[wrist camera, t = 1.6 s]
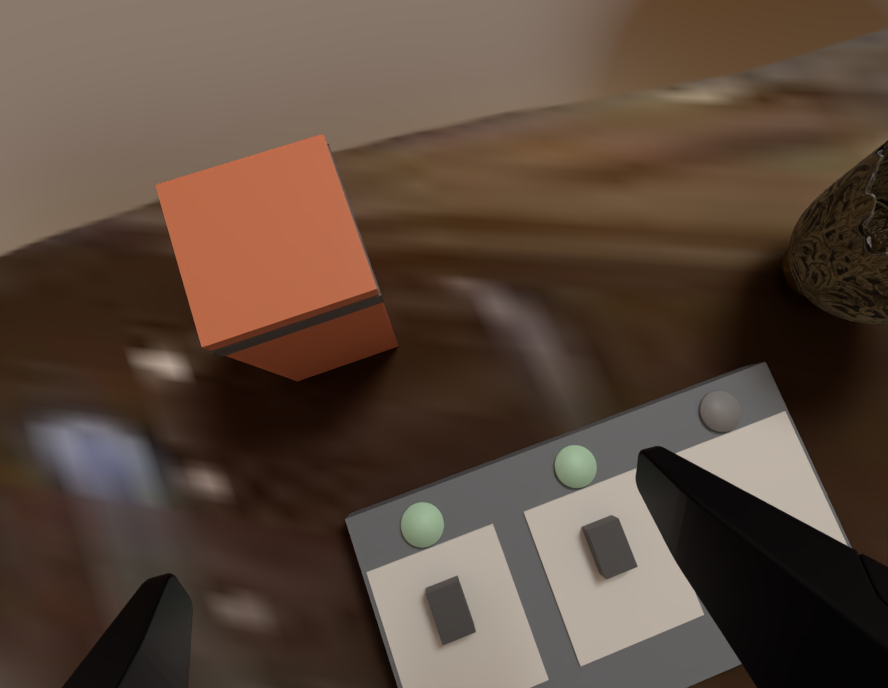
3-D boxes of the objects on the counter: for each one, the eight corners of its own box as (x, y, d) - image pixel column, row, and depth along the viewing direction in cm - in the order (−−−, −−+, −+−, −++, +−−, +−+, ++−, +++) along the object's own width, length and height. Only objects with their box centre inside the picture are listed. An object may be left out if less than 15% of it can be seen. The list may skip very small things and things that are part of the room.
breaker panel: (432, 770, 21) (432, 814, 18) (350, 513, 22) (341, 523, 20) (848, 593, 22) (898, 612, 20) (744, 365, 24) (779, 359, 22)
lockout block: (296, 382, 23) (200, 349, 13) (266, 283, 24) (153, 184, 14) (399, 347, 24) (379, 289, 14) (366, 251, 25) (324, 131, 15)
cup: (901, 332, 25) (1124, 287, 17) (763, 365, 24) (926, 334, 16) (848, 194, 26) (1033, 92, 18) (715, 223, 25) (846, 130, 17)
